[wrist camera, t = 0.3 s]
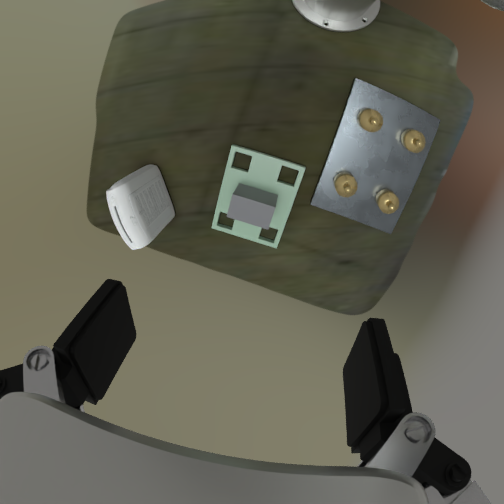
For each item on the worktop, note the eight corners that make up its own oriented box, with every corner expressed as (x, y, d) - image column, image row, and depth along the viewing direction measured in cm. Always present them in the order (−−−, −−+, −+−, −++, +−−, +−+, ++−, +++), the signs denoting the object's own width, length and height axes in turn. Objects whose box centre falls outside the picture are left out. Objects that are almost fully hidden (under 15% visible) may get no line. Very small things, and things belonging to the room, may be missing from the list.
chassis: (354, 78, 33) (361, 76, 29) (437, 119, 33) (452, 123, 29) (310, 201, 44) (311, 214, 39) (388, 230, 44) (397, 245, 40)
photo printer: (137, 167, 45) (94, 193, 34) (158, 160, 44) (117, 184, 33) (158, 221, 50) (124, 259, 39) (179, 216, 48) (147, 254, 38)
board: (233, 144, 41) (223, 152, 36) (305, 166, 41) (306, 177, 36) (213, 225, 48) (202, 242, 43) (276, 245, 48) (274, 265, 43)
